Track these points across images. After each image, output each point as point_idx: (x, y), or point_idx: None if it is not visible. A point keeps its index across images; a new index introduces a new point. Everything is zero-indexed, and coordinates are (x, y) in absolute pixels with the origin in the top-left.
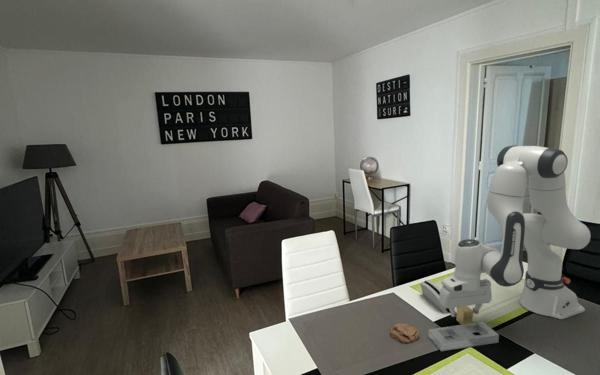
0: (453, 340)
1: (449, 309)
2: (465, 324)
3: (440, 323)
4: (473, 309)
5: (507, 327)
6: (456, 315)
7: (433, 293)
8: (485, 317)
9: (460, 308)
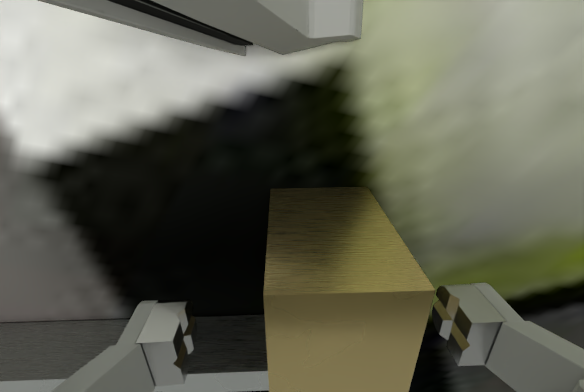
0: None
1: (273, 49)
2: (242, 376)
3: (95, 205)
4: (460, 330)
5: (560, 320)
6: (190, 349)
7: None
8: (550, 200)
9: (284, 340)
